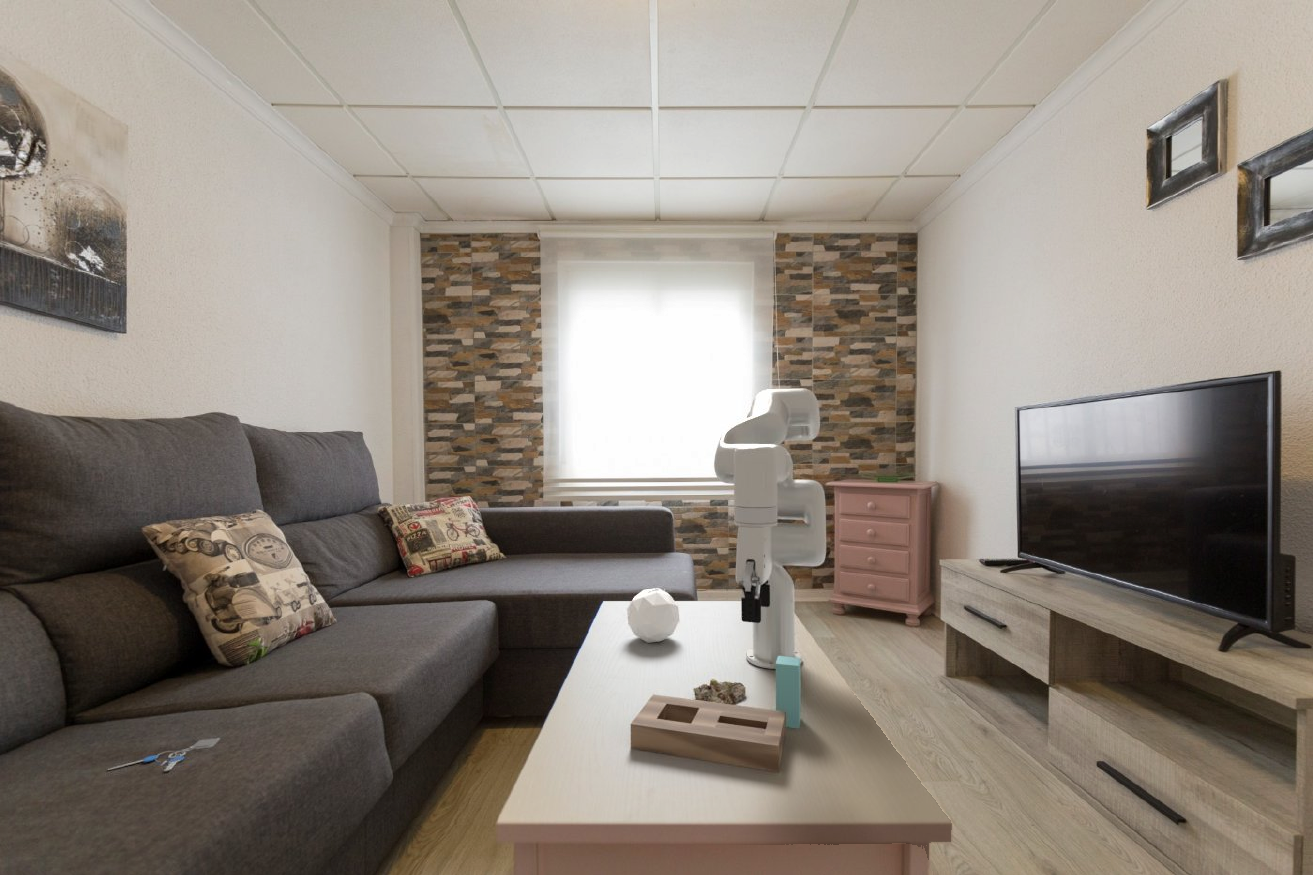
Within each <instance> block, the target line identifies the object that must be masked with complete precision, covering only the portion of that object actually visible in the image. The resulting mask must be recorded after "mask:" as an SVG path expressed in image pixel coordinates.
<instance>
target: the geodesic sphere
mask: <svg viewBox="0 0 1313 875" xmlns="http://www.w3.org/2000/svg"><path fill="white" fill-rule="evenodd" d="M670 594H671V593H670ZM670 594H669V593H668V592H667V591H666V587H664V588H663V589H662V588H659V587H656V588H648V589H643V590H641V591H640V592H639V593H637V594H636V595H635V596H634V597H633V599H632V600H631V602H630V603H629V605H628V607H627V609H626V611H627V624H628V626H629V628H630V629H631V631H632V633H633V635H634V636H636V637H637V638H639V639H641V640H642V641H644V642H646V643H647V644H649V643H650V644H651V643H657V642H663V641H664V640H666V639H667V638H668V637H670V636H672V635H673V634H674V632H675V631H676V628H677V626H678V624H679V622H680V613H679V606H678V604H677V602H676V601H675V600H674V598H673V597H672V595H670Z"/></svg>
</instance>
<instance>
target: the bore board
mask: <svg viewBox="0 0 1313 875" xmlns="http://www.w3.org/2000/svg"><path fill="white" fill-rule="evenodd" d="M786 736H787V727H786V712H784V711H777V710H776V709H767V708H760V707H752V706H745V705H737V704H723V703H716V702H708V701H700V700H698V699H693V698H691V699H690V698H683V697H676V696H668V695H661V694H656V693H655V694H654V693H653V694H652V695H651V696H650V698H649V699H648V700H647V702H646V703H645V704H644V705H643V707H642V708H641V710H639V712H638V713H637V715H636V716H635V718H633V720H632V721H631V723H630V749H633V750H639V751H645V752H651V753H656V754H657V753H658V754H663V755H669V756H675V757H681V758H688V759H693V760H701V761H707V762H713V763H719V764H726V765H729V766H737V767H744V768H750V769H754V770H755V769H756V770H762V771H769V772H772V773H773V772H775V773H779V772H780V769H781V768H780V767H781V762H782V757H783V751H784V747H785V741H786V738H787V737H786Z"/></svg>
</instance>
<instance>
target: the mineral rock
mask: <svg viewBox="0 0 1313 875" xmlns="http://www.w3.org/2000/svg"><path fill="white" fill-rule="evenodd" d="M746 691H747V690H746V687H745V685H744V684H743V683H742V682H731V681H727V680H726V681H722V682H721V681H720V682H719V681H718V680H717V679H714V678H712V679H710V680H709V685H708V684H707V683H703V684H701V685H699V686H698V687H693V692H694V698H695V700H700V701H708V702H716V703H723V704H731V705H733V704H735V703H738V702H741V701H742V700H743V699H744V698H745V697H746Z"/></svg>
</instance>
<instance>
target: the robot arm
mask: <svg viewBox="0 0 1313 875" xmlns="http://www.w3.org/2000/svg"><path fill="white" fill-rule="evenodd" d="M746 416H747V417H746V419H743V420H742V421H740V422H737V424H734V425H732V426H730V427H728V429H726V430H725V431H724V432H723V434H722V435H721V436H720V439H719V442H718V444H717V447H716V449H715V454H714V462H713V468H714V472H715V475H716V478H718V480H719V481H720V482H722V483H724V484H731V485H733V515H734V516H733V519H734V520H733V524H734V526H738V530H737V534H736V535H737V536H736V538H737V539H736V558H735V581H736V583H737V584H741V583H742V587H741V600H740V602H741V604H740V606H741V621H742V622H745V623H752V648H749V649H748V650H747V651H746V656H745V657H746V660H747V661H748V662H749V663H750V664H751V665H753V666H757V667H760V668H764V669H770V670H776V661H777V658H778V656H785V657H795V658H800V665H802V662H803V660H802V659H803V658H802V655H801V653H800V652H798V651H797V650H796V649H795V646H796V645H795V643H796V642H795V639H796V638H795V634H796V633H795V629H796V628H795V585H794V584H795V582H794V581H793V579H792V577H791V575H790V573H788V571H787V570H786V569H785V568H784V566H796V567H797V566H798V567H818V566H821V565H822V564H823V563H824V562H825V559H826V555H827V516H826V514H827V513H826V512H827V511H826V508H827V507H826V505H827V504H826V495H825V489H824V488H823V485H822V484H821V483H820V482H818V481H817V480H813V479H801V478H800V479H794V468H793V467H794V463H793V459H792V456H791V454H790V452H789V451H788V450H787V449H786V447H784V446H782V445H781V444H782V443H783V442H784V441H785V442H787V441H788V442H789V441H794V442H795V441H800V442H801V441H812V440H814V439H815V438H817V436H818V435H819V433H820V428H821V427H820V426H821V418H820V406H819V402H818V399H817V396H816V395H815V393H814V392H813V391H812V390H810V389H807V388H805V387H804V388H802V387H801V388H773V389H765V390H762V391H761V392H759V393H758V394H756V396H755V397H754V398H753V400H752V403H751V407H750V411H748V413H747V415H746ZM778 520H795V521H797V520H799V521H803V522H804V523H789V522H778Z"/></svg>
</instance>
